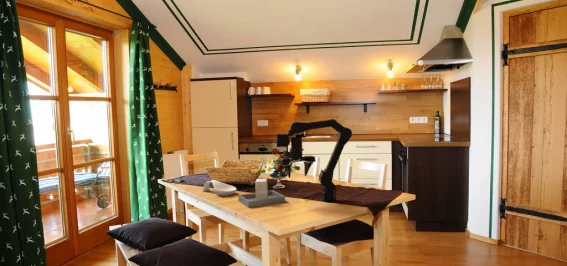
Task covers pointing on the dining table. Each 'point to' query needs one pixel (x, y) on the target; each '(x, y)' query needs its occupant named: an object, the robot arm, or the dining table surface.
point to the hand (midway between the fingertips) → (297, 176)
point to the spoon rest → (220, 188)
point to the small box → (261, 189)
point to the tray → (251, 200)
